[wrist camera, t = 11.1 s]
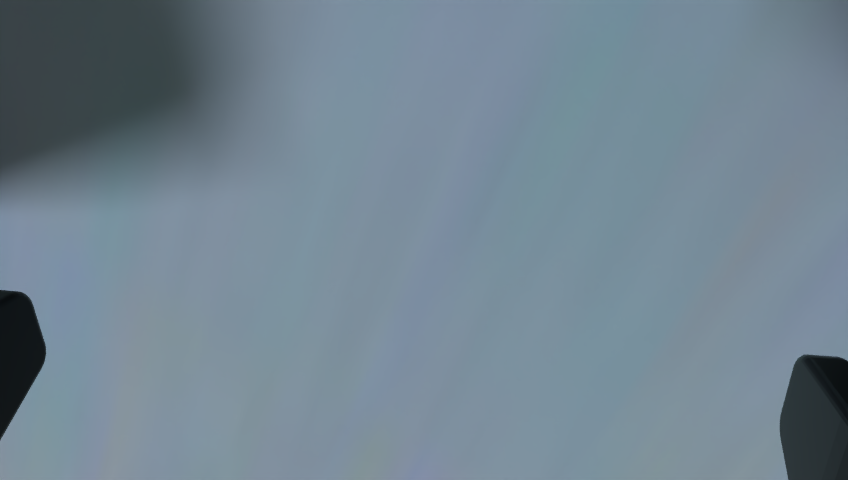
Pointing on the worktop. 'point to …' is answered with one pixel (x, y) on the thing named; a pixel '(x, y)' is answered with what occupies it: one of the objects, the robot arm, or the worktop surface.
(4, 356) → the robot arm
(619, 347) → the worktop surface
